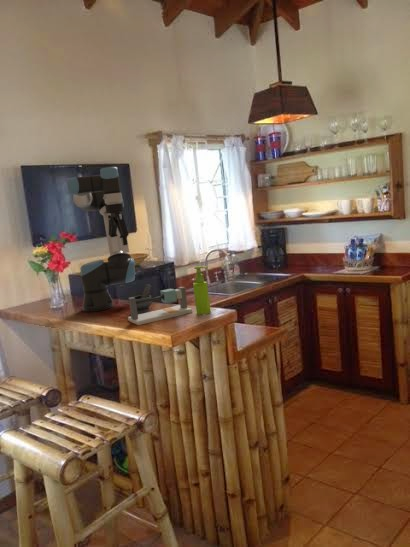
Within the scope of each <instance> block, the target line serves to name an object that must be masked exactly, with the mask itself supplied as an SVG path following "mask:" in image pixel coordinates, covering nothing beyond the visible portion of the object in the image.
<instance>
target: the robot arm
mask: <svg viewBox="0 0 410 547" xmlns="http://www.w3.org/2000/svg"><path fill="white" fill-rule="evenodd" d="M99 172H100V174H94V175H86V176H73V177H70V178H69V177H68V178H67V179H66V185H67V192H68V194H69V196H72V200H73V203H74V205H75V206H76V207H77V208H79V209H81V210H83V211H87V212H98V211H99V214H100V215H101V216H103V221H104V227H105V234H106V239H107V240H106V241H107V246H108V251H109V252H108V253H109V256H108V257H107V261H105V260H104V259H98V260H94V261H93V260H92V261H90V262H87V263H84V264H82V265H81V266H80V277H81V283H82V289H83V301H82V311H83V312H87V313H88V312H89V313H91V312H99V311H100V310H101V311H105V310H108V309H109V310H110V309H111V308H113V307H115V305H114V304H115V303H114V300H113V298H112V296H111V294H110V293H109V288H108V286H115V285H120V284H127V283H131V282H133V281H135V279H136V266H135V258H134V257H132V256H131V254H129V253H130V249H129V241H128V236H129V235H130V234H129V230H128V228H127V225H126V222H125V217H124V213H122V212H124V207H125V204H124V199H123V194H122V191H121V184H120V183H121V182H120V177H119V176H120V175H119V171H118V167H117V166H108V167H102V168H100V170H99Z"/></svg>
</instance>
